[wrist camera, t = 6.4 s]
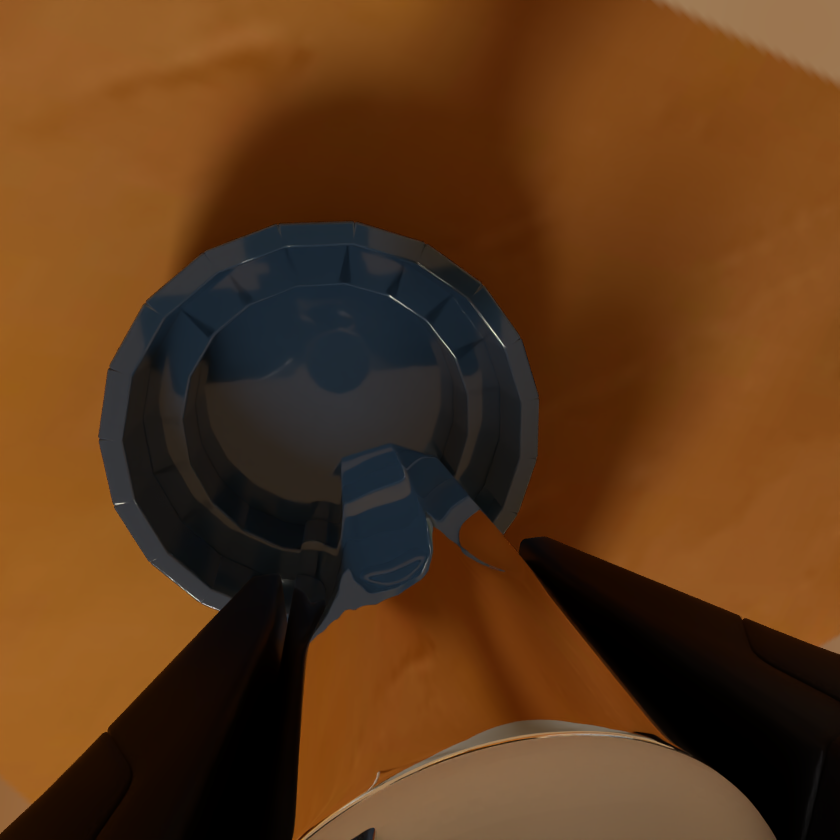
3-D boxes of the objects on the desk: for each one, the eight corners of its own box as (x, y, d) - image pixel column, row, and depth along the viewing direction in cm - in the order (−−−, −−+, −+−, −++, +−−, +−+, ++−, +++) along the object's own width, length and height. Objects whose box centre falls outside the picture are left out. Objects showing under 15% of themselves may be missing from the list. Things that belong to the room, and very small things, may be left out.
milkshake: (395, 332, 11) (1010, 966, 1) (525, 530, 12) (1171, 1390, 3) (200, 465, 11) (-603, 2014, 1) (358, 642, 13) (493, 1815, 3)
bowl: (492, 222, 19) (545, 214, 15) (492, 535, 23) (534, 600, 19) (112, 234, 17) (49, 229, 13) (179, 578, 21) (148, 662, 17)
